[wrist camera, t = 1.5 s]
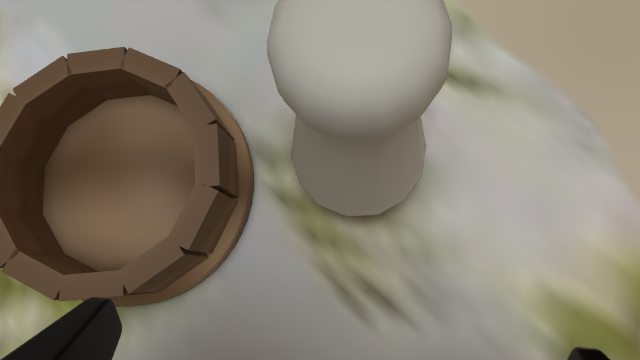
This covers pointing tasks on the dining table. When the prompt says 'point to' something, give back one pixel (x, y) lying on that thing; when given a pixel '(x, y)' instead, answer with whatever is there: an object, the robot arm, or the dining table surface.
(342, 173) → the salt shaker
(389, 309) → the dining table surface
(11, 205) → the collar stand
